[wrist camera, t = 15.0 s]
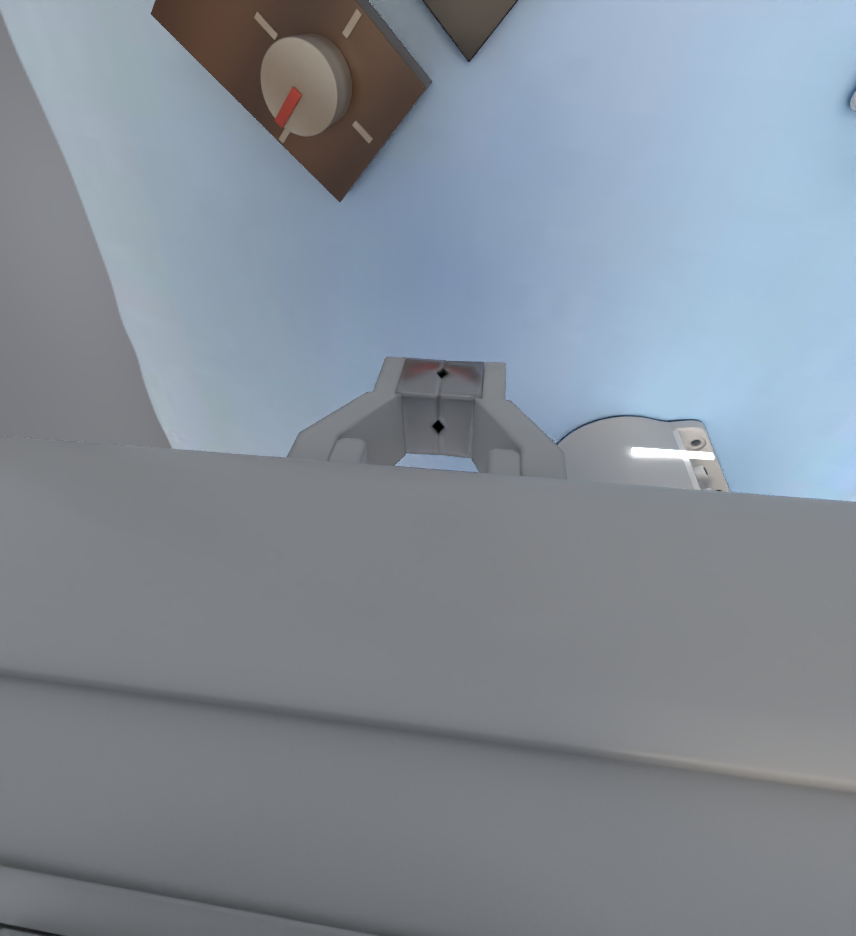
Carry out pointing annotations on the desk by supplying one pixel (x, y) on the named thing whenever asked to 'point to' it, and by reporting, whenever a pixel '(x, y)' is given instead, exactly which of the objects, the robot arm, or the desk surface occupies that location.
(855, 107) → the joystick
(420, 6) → the desk surface
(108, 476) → the robot arm
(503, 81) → the desk surface
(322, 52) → the dial
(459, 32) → the control block
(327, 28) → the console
